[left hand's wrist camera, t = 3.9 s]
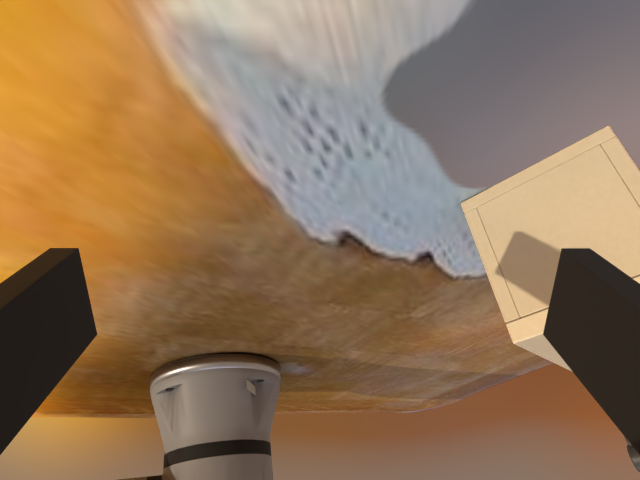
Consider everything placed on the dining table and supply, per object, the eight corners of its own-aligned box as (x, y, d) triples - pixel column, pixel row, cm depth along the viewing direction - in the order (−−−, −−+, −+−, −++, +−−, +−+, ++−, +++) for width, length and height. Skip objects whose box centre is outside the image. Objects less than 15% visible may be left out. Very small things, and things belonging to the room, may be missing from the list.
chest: (651, 225, 38) (714, 323, 33) (538, 271, 43) (578, 363, 38) (608, 124, 26) (696, 254, 22) (460, 203, 31) (504, 322, 26)
